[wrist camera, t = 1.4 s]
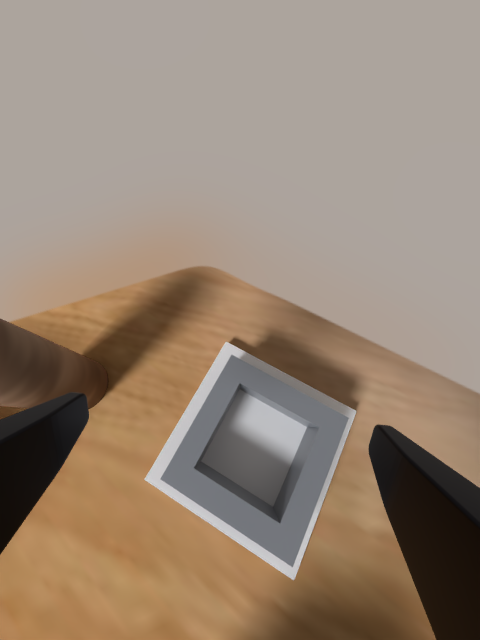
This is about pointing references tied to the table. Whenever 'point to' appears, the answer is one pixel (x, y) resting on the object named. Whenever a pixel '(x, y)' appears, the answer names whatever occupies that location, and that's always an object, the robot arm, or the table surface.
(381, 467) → the robot arm
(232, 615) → the table surface
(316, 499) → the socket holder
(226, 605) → the table surface
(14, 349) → the walnut peg
